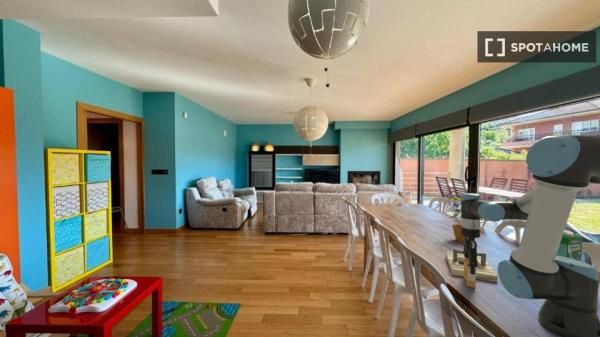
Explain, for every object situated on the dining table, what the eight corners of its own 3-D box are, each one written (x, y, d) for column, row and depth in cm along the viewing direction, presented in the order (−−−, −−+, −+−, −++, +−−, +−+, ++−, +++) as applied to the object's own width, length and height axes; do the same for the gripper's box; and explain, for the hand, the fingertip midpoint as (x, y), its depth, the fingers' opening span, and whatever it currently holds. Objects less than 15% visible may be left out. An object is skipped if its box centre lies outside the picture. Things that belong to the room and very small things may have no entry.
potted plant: (440, 238, 183) (441, 197, 182) (460, 236, 188) (461, 196, 187) (463, 246, 166) (464, 200, 165) (484, 243, 171) (485, 199, 170)
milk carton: (566, 290, 109) (568, 233, 108) (542, 280, 118) (543, 227, 117) (580, 287, 111) (582, 231, 111) (555, 278, 120) (556, 226, 119)
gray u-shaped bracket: (485, 271, 127) (486, 254, 127) (453, 266, 133) (453, 249, 133) (484, 270, 129) (485, 252, 129) (452, 265, 135) (453, 248, 134)
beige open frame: (497, 282, 116) (497, 275, 116) (452, 275, 123) (452, 268, 123) (483, 262, 139) (483, 257, 139) (445, 257, 146) (446, 252, 146)
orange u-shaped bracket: (475, 287, 110) (475, 267, 110) (467, 286, 112) (467, 266, 111) (471, 279, 119) (471, 260, 119) (463, 277, 120) (464, 259, 120)
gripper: (486, 234, 103) (485, 288, 104) (474, 222, 123) (473, 268, 124) (465, 232, 106) (464, 284, 107) (456, 221, 126) (456, 265, 127)
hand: (469, 275), depth 115 cm, fingers closed on orange u-shaped bracket, 9 cm apart
